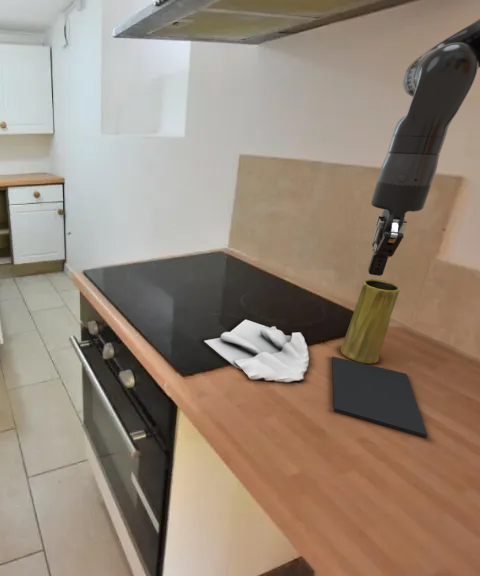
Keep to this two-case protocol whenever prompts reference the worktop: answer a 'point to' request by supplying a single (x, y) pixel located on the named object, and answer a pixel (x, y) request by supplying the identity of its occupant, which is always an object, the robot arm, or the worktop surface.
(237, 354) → the cloth
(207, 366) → the worktop surface
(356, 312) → the vase
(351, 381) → the mat
